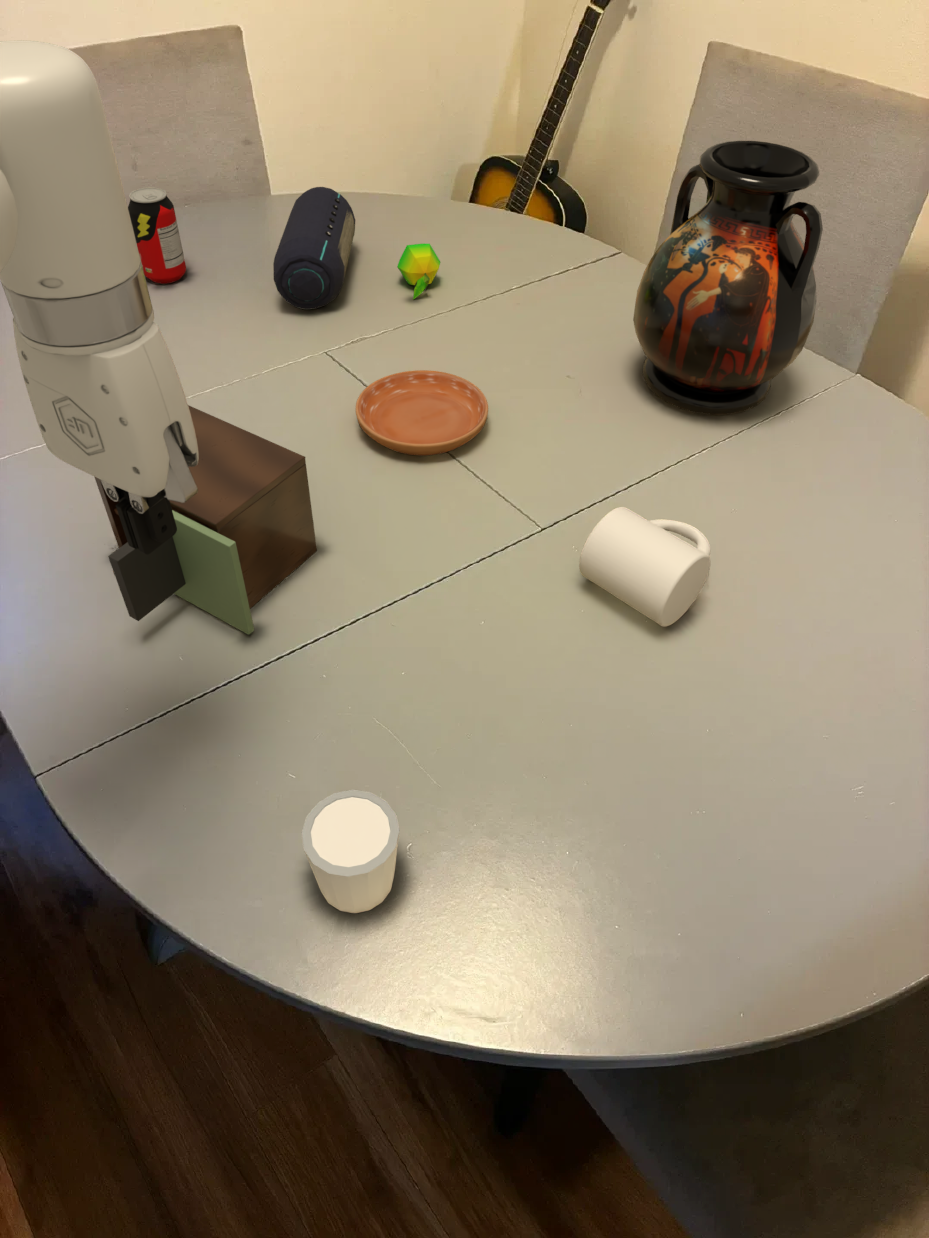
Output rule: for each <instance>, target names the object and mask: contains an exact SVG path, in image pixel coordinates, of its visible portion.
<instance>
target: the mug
mask: <svg viewBox="0 0 929 1238" xmlns="http://www.w3.org/2000/svg"><path fill="white" fill-rule="evenodd" d="M673 533H675V534H678V535H679V536H682V537H683V538H686V539H688V540H690V541H691V542H693V543H694V544H695V545H696V546H694V545H692V544H690V543H689V542H687V541H685V540H684V539H682V538H680V537H678V536H676V535H675V534H673ZM711 550H712V548H711V545H710V541H709V540H708V538H707V536H706V535H705V534H704V533H703V532H702V531H701V530H700V529H698V528H697V527H695V526H693V525H691V524H689V523H686V522H683V521H679V520H673V519H665V518H663V519H661V518H659V519H658V518H657V519H650V520H649V519H647V518H645V517H643V516H642V515H640V514H638V513H637V512H635V511H633V510H631V509H629V508H627V507H625V506H617V507H616V508H613V509H611V510H610V511H609V512H607V513H606V514H605V515H604V516H602V518H601V519H600V520H599V521H598V522H597V523H596V525H595V526H594V528H593V529H592V530H591V531H590V533H589V535H588V536H587V539H586V541H585V543H584V545H583V547H582V550H581V553H580V556H579V561H578V562H579V563H578V567H579V572H580V575H582V577H584V578H585V579H586V580H588V581H590V582H592V583H593V584H595V585H597V586H598V587H600V588H601V589H603V590H604V591H606V592H607V593H609V594H610V595H612V596H613V597H615V598H617V599H618V600H620V601H622V602H623V603H625V604H626V605H628V606H629V607H631V608H632V609H634V610H636V611H637V612H638V613H640V614H642V615H643V616H645V617H647V618H648V619H649V620H651V621H653V622H654V623H656V624H657V625H659V626H661V627H669V626H671V625H673V624H675V623H676V622H677V621H678V620H680V618H681V617H682V616H684V615H685V613H686V612H687V611H688V610H689V609H690V607H692V605H693V603H694V602H695V600H696V599H697V597H698V596H699V595H700V593H701V591H702V589H703V587H704V585H705V583H706V581H707V579H708V576H709V573H710V570H711V565H712V564H711V563H712V562H711V556H710V555H711Z"/></svg>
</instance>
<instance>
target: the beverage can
mask: <svg viewBox="0 0 929 1238" xmlns="http://www.w3.org/2000/svg"><path fill="white" fill-rule="evenodd" d="M128 197H129V203H128V205H127V206H128V211H129V215H130V219H131V223H132V227H133V231H134V235H135V239H136V243H137V248H138V252H139V256H140V259H141V263H142V267H143V271H144V275H145V278H147V279H149V280H150V281H152V282H153V283H156V284H161V285H162V284H163V285H165V284H171V283H175V282H178V281H179V280H181V279H182V277H183V276H184V275H185V274H186V271H187V265H186V260H185V255H184V250H183V245H182V240H181V235H180V230H179V226H178V219H177V216H176V211H175V207H174V206H175V205H174V203H173V202H172V200H171V199H170V198H169V197H168V194H167V191H166V190H165V189H163V188H160V187H155V186H154V187H153V186H151V187H148V186H147V187H142V188H141V187H139V188H137V189H134V190H132V191H131V192H130V193H129V194H128Z"/></svg>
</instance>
